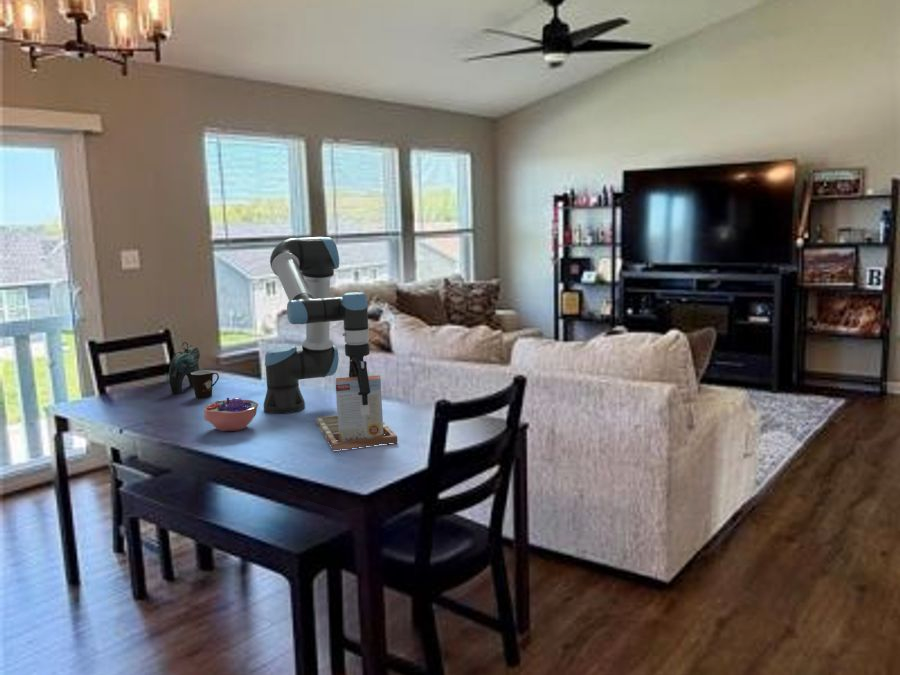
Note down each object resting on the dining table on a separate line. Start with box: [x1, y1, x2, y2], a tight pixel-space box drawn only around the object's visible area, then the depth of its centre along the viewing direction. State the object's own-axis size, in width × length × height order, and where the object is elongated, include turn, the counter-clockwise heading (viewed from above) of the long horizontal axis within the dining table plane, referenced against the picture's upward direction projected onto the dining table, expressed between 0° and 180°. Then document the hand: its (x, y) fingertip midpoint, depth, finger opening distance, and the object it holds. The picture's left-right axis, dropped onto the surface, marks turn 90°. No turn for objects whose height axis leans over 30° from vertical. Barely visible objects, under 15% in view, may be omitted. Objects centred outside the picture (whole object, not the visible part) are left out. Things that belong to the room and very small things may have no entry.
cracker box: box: [335, 375, 385, 442], centre depth 231 cm, size 14×6×21 cm, turn 97°
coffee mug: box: [191, 369, 220, 399], centre depth 301 cm, size 12×9×10 cm
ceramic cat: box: [168, 341, 201, 395], centre depth 315 cm, size 20×6×20 cm, turn 169°
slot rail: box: [316, 414, 398, 451], centre depth 243 cm, size 33×20×2 cm, turn 19°
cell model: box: [202, 397, 259, 432], centre depth 252 cm, size 17×20×11 cm
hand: (360, 409), depth 231 cm, fingers open, 13 cm apart
